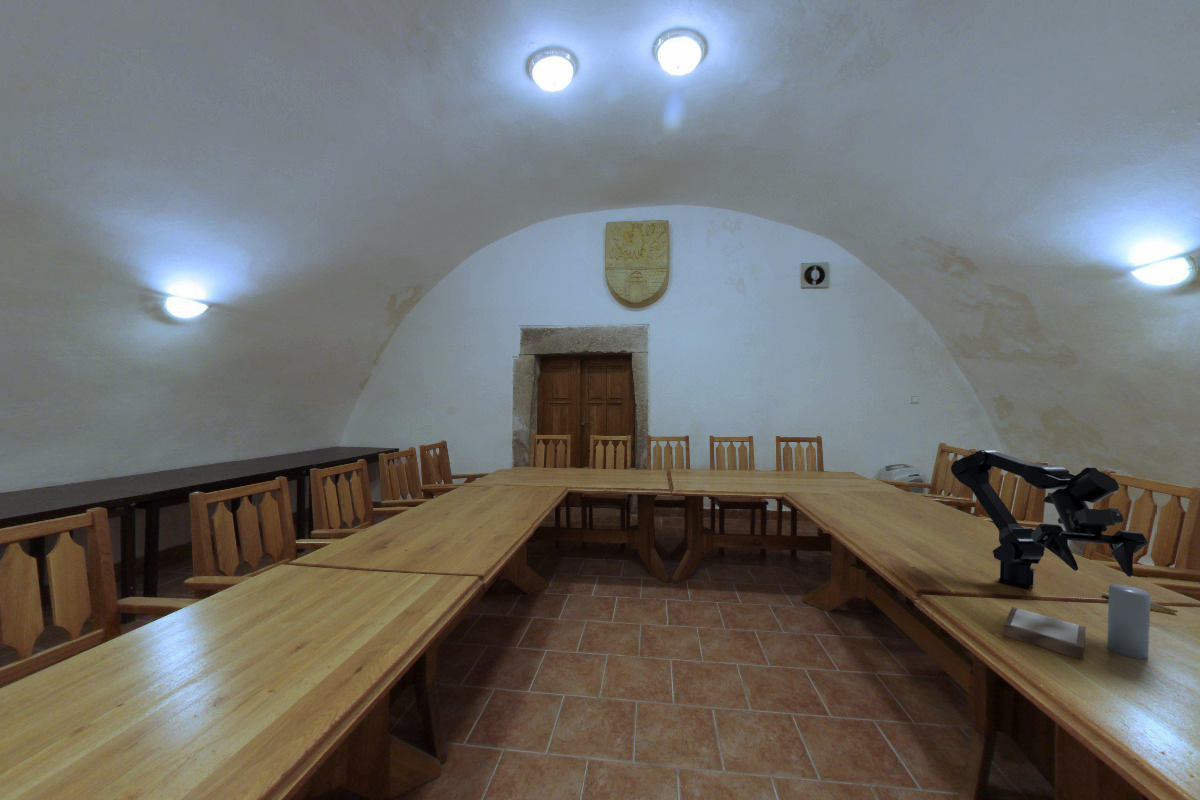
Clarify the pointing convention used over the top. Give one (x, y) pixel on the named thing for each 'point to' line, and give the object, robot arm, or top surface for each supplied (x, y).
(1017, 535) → the robot arm
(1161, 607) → the shard
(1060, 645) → the plate
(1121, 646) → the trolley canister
